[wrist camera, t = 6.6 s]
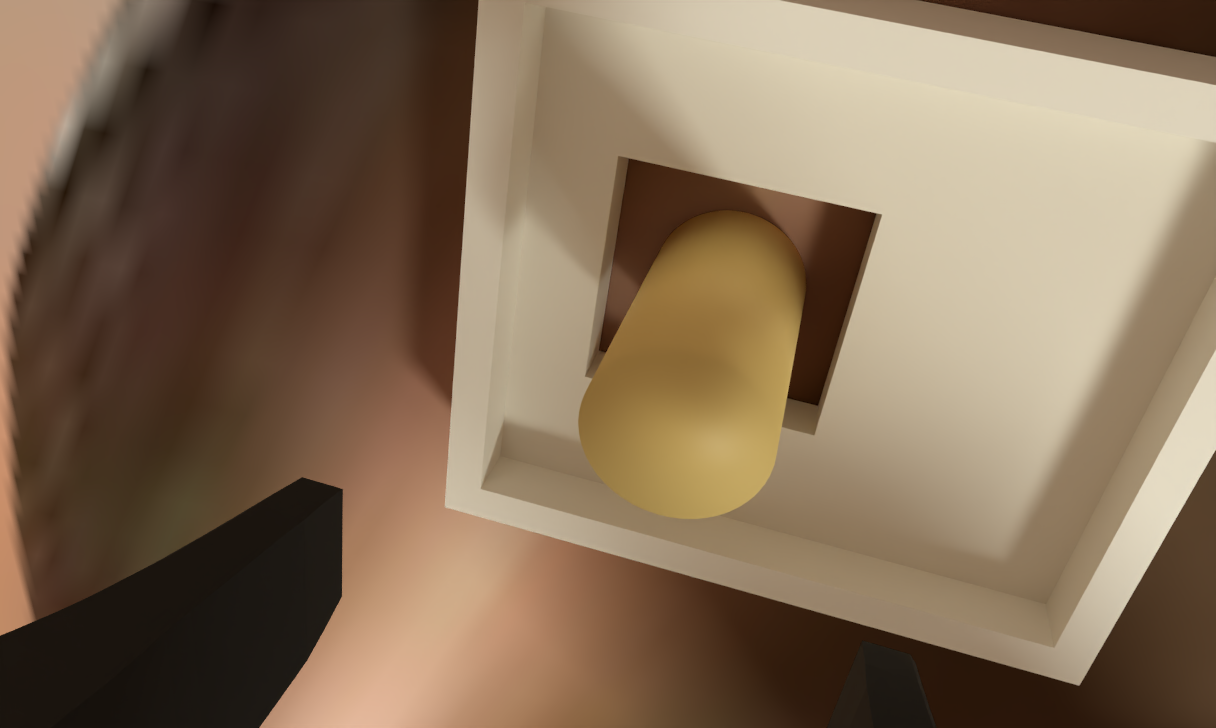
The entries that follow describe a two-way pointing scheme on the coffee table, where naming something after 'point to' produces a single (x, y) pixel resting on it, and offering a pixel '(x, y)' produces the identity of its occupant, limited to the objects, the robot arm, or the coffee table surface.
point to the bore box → (867, 300)
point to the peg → (699, 370)
